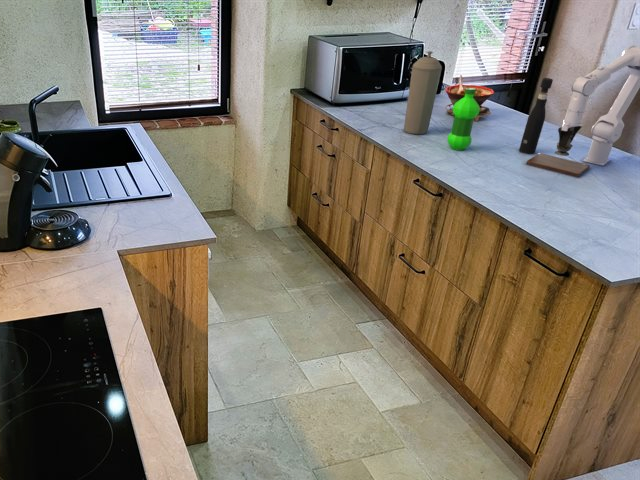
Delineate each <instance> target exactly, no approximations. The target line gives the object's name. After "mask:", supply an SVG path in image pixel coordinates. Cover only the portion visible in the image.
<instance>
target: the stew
mask: <svg viewBox="0 0 640 480" xmlns="http://www.w3.org/2000/svg"><path fill="white" fill-rule="evenodd" d="M458 81H459V84H453V85H449V86H447V87H445V89H444V90H445V92H446V94H447V96H448V99H449V100H450V102H451V103H449V104H446V105H445V107H444V108H445V110H447V115H449V116H451V117H453V118H454V117H455V115H454V113H453V106H454V104H455V103H456V102H458V101H459V100H460V99H462V98H464V97H465V93H464V92H465V88H475V89H476V92H475V94H474V95H473V99H474V100H475V101H476V102H477V104H478V105H479V108H480V110H479V113H478V116H476V117H475V118H474V122H479V119H480V118H483V117H488V116H490V115H491V114H492V111H491V110H490V108H489V107H488V106H483V104H484V103H485V102H487V100H488V99H489V98H491V96H493V95H494V94H495V90H494V89H492V88H489V87H486V86H482V85H475V84H463V75H461V74H460V75H459V79H458ZM451 106H452V108H451ZM447 107H449V109H448V108H447Z"/></svg>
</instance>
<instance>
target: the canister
mask: <svg viewBox="0 0 640 480" xmlns="http://www.w3.org/2000/svg"><path fill="white" fill-rule="evenodd" d="M426 53H427V56H423V57H419V59H417V61H415V62H414V63H413V64H412V66H411V67H412V68H411V76H410V82H409V88H408V95H407V101H406V102H407V104H406V111H405V118H404V124H403V131H404V132H405V133H407V134H412V135H425V134H427V133H428V132H429V128H430V123H431V119H432V114H433V110H434V104H435V102H436V101H435V100H436V96H437V91H438V86H439V83H440V77H441V73H442V70H443V67H442V64H441V63H440V60H439V59H437V58H436V57H433V56H431V55H432V54H434V51H431V50H428V51H426Z"/></svg>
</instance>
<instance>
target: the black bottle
mask: <svg viewBox="0 0 640 480" xmlns="http://www.w3.org/2000/svg"><path fill="white" fill-rule="evenodd" d="M553 81H554V79H553V78H549V77H544V78H542V79H541V83H540V86H539V87H540V88H541V89H540V92H539V94H538V96H537V97H536V101H535V105H534V106H533V107H532V109H531V111H530V112H529V115H528V117H527V120H526V123H525V127H524V131H523V134H522V138H521V141H520V145H519V148H518V151H519V152H520V153H522V154H524V155H534V154H535V153H536V151H537V147H538V143H539V140H540V137H541V133H542V130H543V127H544V124H545V120H546V105H547V101H548V92H549V90H550V89H551V88H552V85H553Z"/></svg>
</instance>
